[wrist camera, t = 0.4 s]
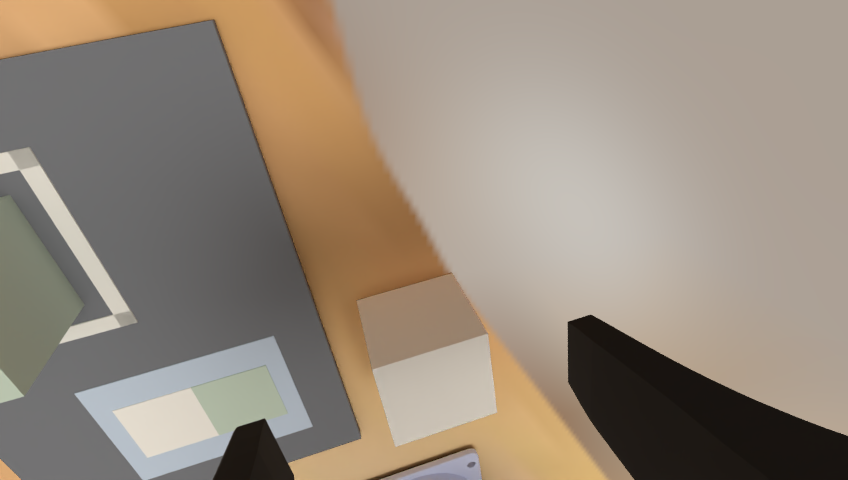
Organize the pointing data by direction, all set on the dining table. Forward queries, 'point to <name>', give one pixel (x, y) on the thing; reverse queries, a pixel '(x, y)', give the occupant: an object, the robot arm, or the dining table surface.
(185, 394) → the mat
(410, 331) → the top block
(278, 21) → the dining table surface
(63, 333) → the base block
